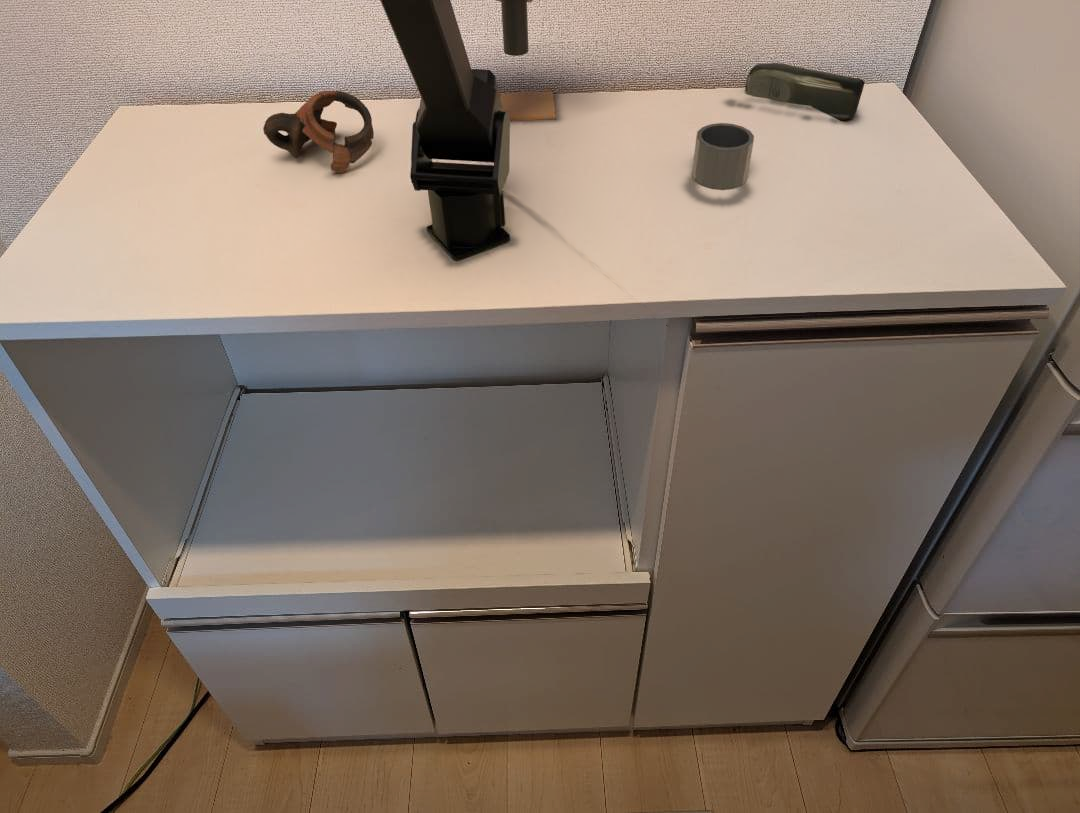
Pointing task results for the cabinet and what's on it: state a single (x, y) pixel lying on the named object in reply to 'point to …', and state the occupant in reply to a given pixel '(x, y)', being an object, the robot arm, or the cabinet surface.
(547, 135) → the cabinet surface
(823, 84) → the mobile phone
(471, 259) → the cabinet surface
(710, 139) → the pen pot
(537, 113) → the cork pad
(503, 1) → the marker
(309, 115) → the brown curved ring piece
